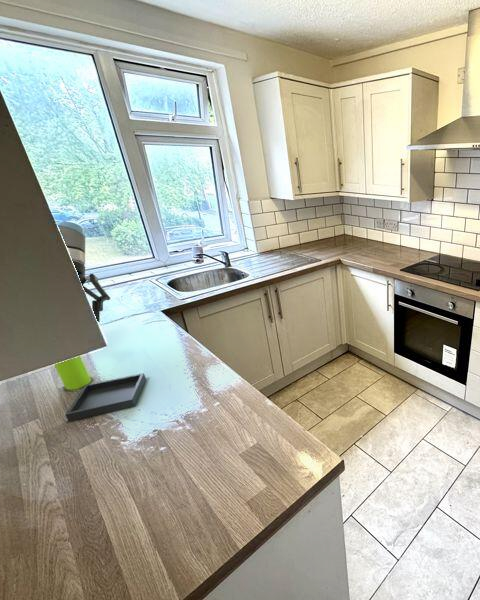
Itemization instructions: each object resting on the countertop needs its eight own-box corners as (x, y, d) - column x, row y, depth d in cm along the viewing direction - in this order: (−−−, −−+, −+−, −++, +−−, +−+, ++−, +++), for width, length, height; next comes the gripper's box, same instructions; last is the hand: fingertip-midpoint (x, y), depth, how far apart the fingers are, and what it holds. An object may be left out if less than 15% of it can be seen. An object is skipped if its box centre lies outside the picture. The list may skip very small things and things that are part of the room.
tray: (68, 421, 88) (64, 414, 87) (88, 391, 99) (85, 384, 98) (134, 406, 93) (132, 399, 92) (146, 379, 104) (143, 372, 103)
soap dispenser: (71, 393, 98) (42, 335, 90) (62, 385, 101) (34, 328, 93) (95, 383, 102) (70, 326, 94) (87, 375, 106) (61, 321, 98)
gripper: (9, 264, 100) (3, 328, 93) (111, 255, 109) (112, 313, 103) (26, 275, 106) (22, 336, 100) (121, 265, 116) (123, 321, 109)
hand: (68, 324), depth 101 cm, fingers open, 13 cm apart
